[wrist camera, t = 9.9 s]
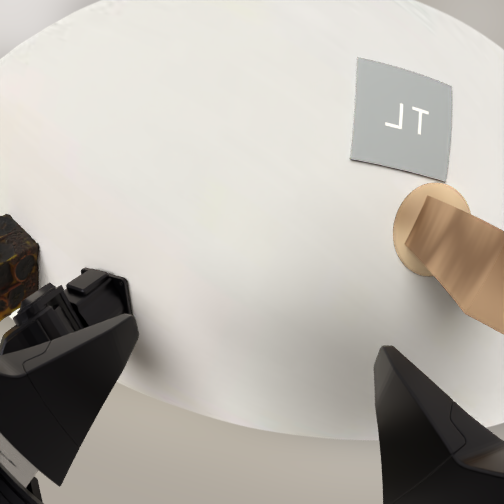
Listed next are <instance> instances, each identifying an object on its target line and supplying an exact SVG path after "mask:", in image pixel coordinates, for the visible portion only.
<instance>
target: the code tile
mask: <svg viewBox="0 0 504 504" xmlns="http://www.w3.org/2000/svg"><path fill="white" fill-rule="evenodd" d="M451 122H452V86H450V85H448V84H445V83H443V82H440V81H438V80H435V79H432V78H430V77H427V76H424V75H421V74H418V73H415V72H412V71H409V70H406V69H403V68H399V67H396V66H392V65H389V64H385V63H381V62H377V61H373V60H368V59H364V58H359V57H357V71H356V95H355V111H354V124H353V135H352V145H351V155H350V159H353V160H358V161H364V162H369V163H373V164H378V165H383V166H387V167H392V168H396V169H400V170H404V171H408V172H412V173H416V174H420V175H423V176H427V177H431V178H434V179H438V180H441V181H444V182H446V177H447V169H448V161H449V152H450V140H451Z"/></svg>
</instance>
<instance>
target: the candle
mask: <svg viewBox="0 0 504 504" xmlns="http://www.w3.org/2000/svg"><path fill="white" fill-rule="evenodd" d="M37 255H38V244H37V243H35V241H34V240H33V239H32V238H31V237H30V236H29V235H28V234H27V233H26V232H25V231H24V230H23V229H22V228H21V227H20V225H18V224H17V223H16V222H15V221H14V220H13V219H12V218H11V216H10V215H8V214H5V215H3V216H0V321H1V320H3V319H4V318H5V317H7V316H9V315H11V313H12V312H14V311H15V310H17V309H18V308H20V306H21V302H22V301H23V300H24V299H26V298H27V297H29V296H30V295H32V294H33V293H35V292H36V291H38V286H37V285H38V267H37Z"/></svg>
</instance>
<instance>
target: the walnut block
mask: <svg viewBox="0 0 504 504" xmlns="http://www.w3.org/2000/svg"><path fill="white" fill-rule="evenodd" d="M405 245H406V246H407V247H408V248H409V249H410V250H411V251H412V252H413V253H414V254H415V256H416V257H417V258H418V259H419V260H420V261H421V262H422V263H423V264H424V265H425V266H426V268H427V269H428V270H429V271H430V272H431V273H432V274H433V275H434V277H435V278H436V279H437V280H438V281H439V282H440V284H441V285H442V286H443V287H444V288H445V290H446V291H447V292H448V293H449V294H450V296H451V297H452V298H453V299H454V301H455V302H456V303H457V304H458V306H459V307H460V308H461V309H462V311H463V312H464V313H465V314H466V315H468V316H470V317H472V318H474V319H476V320H478V321H480V322H482V323H483V324H485V325H487V326H489V327H491V328H493V329H495V330H496V331H498V332H500V333H502V334H504V231H502V230H501V229H499V228H497V227H495V226H493V225H491V224H489V223H487V222H485V221H483V220H481V219H479V218H477V217H475V216H473V215H471V214H469V213H467V212H465V211H463V210H460V209H458V208H456V207H454V206H452V205H449V204H447V203H445V202H442V201H440V200H438V199H435V198H433V197H430V196H428V195H427V197H426V200H425V202H424V204H423V206H422V209H421V211H420V213H419V215H418V217H417V219H416V221H415V224H414V226H413V228H412V230H411V232H410V234H409V236H408V238H407V240H406V242H405Z"/></svg>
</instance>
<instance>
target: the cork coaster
mask: <svg viewBox="0 0 504 504" xmlns="http://www.w3.org/2000/svg"><path fill="white" fill-rule="evenodd" d="M427 195H428V196H430V197H433V198H435V199H438V200H440V201H442V202H445V203H447V204H449V205H452V206H454V207H456V208H458V209H460V210H463V211H465V212H467V213H469V214H471V213H470V209H469V207H468V204H467V202H466V201H465V199H464V198H463V196H462V195H461V194H460V193H459V192H458V191H457V190H456V189H454V188H453V187H451V186H448V185H446V184H442V183H428V184H424V185H422V186H420V187H418V188H416V189H415V190H413V191H412V192H411V193H410V194H409V195H408V196H407V197H406V198H405V199H404V201H403V202H402V204H401V206H400V207H399V209H398V212H397V214H396V217H395V221H394V227H393V239H394V245H395V249H396V252H397V254H398V256H399V258H400V259H401V261H402V262H403V264H404V265H405V266H406V267H407V268H408V269H409V270H411V271H412V272H414V273H416V274H418V275H422V276H434V275H433V274H432V273H431V272H430V271H429V270H428V269H427V268H426V266H425V265H424V264H423V263H422V262H421V261H420V260H419V259H418V258H417V257H416V256H415V254H414V253H413V252H412V251H411V250H410V249H409V248H408V247H407V246H406V245H405V242H406V240H407V238H408V236H409V234H410V232H411V230H412V228H413V226H414V224H415V221H416V219H417V217H418V215H419V213H420V211H421V209H422V206H423V204H424V202H425V200H426V197H427Z"/></svg>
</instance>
